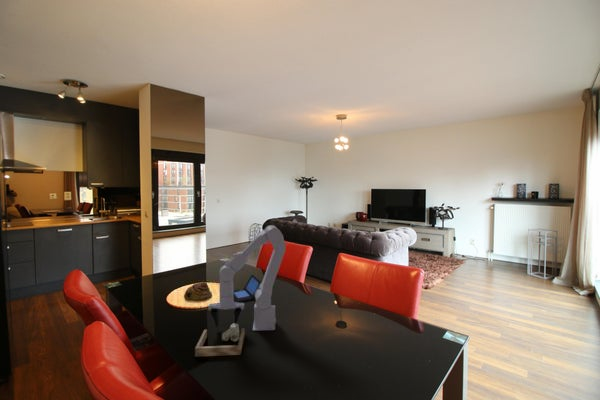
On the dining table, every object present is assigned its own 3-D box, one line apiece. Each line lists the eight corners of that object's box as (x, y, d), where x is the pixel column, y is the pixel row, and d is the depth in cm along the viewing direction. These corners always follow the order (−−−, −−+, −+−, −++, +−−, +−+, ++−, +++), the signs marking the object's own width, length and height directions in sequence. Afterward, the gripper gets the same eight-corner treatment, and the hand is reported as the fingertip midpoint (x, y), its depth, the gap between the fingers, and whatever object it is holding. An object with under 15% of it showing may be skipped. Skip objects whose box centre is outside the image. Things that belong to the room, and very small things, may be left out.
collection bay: (244, 335, 113) (244, 328, 113) (240, 354, 100) (240, 346, 100) (204, 336, 112) (204, 329, 111) (195, 356, 99) (195, 348, 98)
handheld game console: (229, 293, 157) (229, 277, 157) (252, 289, 164) (252, 274, 163) (237, 303, 144) (237, 286, 143) (261, 298, 150) (261, 282, 150)
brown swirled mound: (207, 301, 146) (207, 286, 146) (179, 301, 146) (179, 286, 146) (215, 291, 159) (215, 278, 159) (189, 291, 159) (189, 277, 159)
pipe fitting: (222, 344, 107) (240, 341, 108) (221, 335, 106) (239, 331, 108) (222, 334, 114) (239, 330, 116) (221, 325, 114) (238, 321, 116)
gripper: (245, 290, 121) (245, 320, 121) (211, 290, 120) (211, 321, 120) (243, 296, 114) (243, 328, 114) (207, 297, 113) (207, 329, 113)
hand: (226, 325), depth 117 cm, fingers open, 7 cm apart
